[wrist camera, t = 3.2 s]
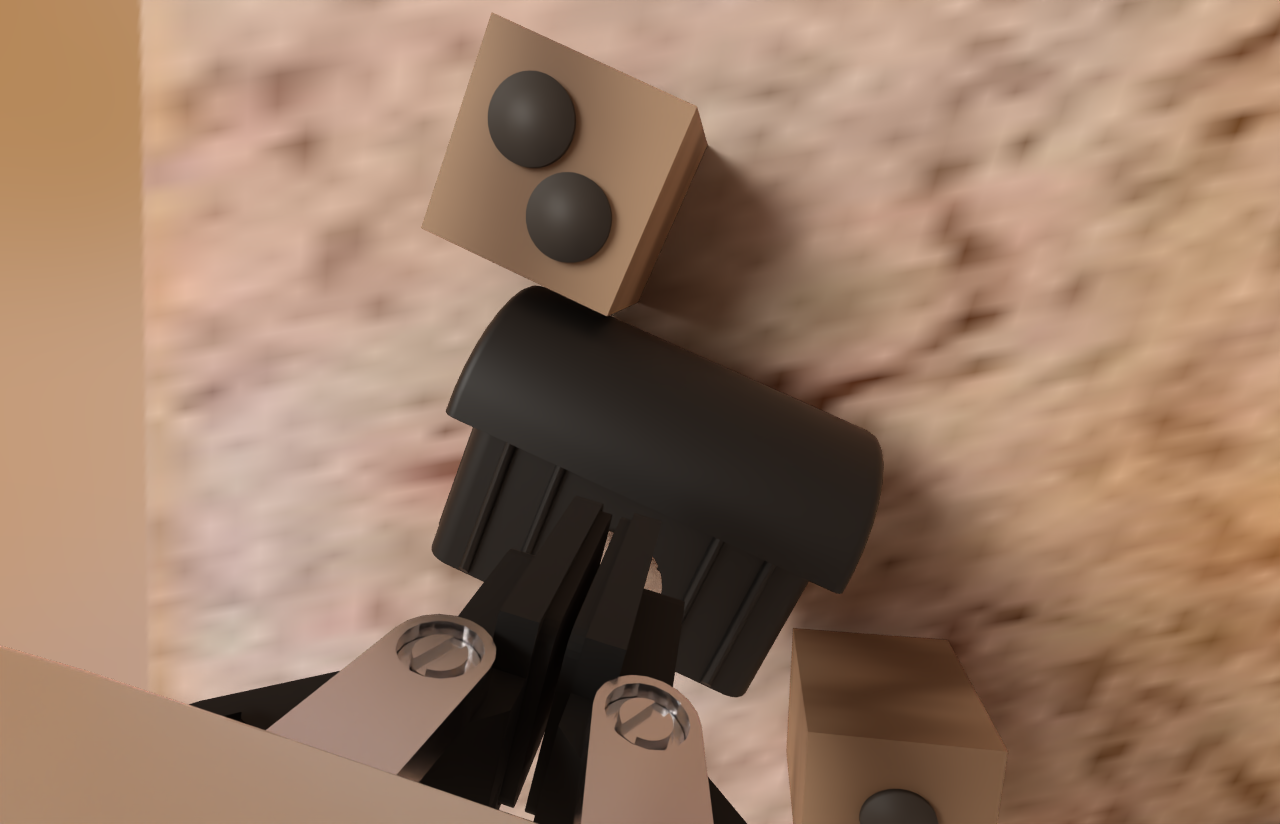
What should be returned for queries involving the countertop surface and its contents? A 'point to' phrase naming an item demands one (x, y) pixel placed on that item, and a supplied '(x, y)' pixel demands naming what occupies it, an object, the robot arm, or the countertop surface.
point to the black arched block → (658, 472)
